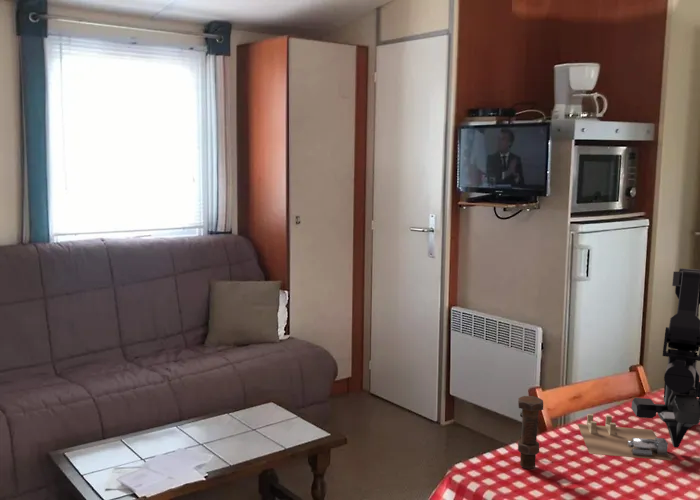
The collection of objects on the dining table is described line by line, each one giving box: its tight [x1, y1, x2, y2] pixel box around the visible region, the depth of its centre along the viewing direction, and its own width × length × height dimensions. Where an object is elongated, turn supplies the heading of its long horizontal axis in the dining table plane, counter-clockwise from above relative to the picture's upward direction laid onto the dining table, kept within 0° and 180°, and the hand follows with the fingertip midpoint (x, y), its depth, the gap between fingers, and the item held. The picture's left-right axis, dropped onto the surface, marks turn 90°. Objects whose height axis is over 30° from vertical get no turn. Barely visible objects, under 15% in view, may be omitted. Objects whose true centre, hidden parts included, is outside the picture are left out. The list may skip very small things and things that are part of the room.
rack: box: [586, 413, 617, 436], centre depth 170 cm, size 6×6×3 cm
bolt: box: [517, 395, 544, 470], centre depth 150 cm, size 6×5×15 cm
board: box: [577, 423, 673, 461], centre depth 164 cm, size 18×18×1 cm
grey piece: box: [628, 437, 669, 455], centre depth 158 cm, size 8×3×3 cm, turn 80°
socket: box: [627, 444, 652, 456], centre depth 159 cm, size 6×4×1 cm
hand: (675, 447), depth 157 cm, fingers closed
